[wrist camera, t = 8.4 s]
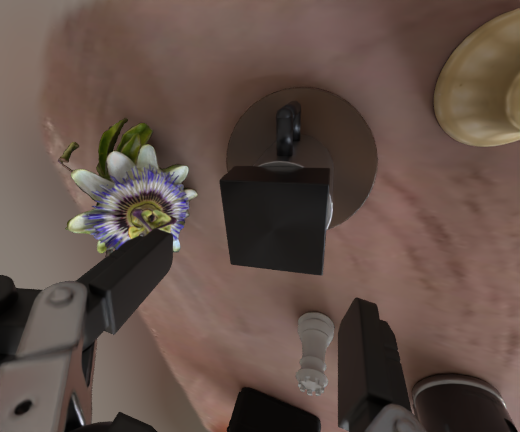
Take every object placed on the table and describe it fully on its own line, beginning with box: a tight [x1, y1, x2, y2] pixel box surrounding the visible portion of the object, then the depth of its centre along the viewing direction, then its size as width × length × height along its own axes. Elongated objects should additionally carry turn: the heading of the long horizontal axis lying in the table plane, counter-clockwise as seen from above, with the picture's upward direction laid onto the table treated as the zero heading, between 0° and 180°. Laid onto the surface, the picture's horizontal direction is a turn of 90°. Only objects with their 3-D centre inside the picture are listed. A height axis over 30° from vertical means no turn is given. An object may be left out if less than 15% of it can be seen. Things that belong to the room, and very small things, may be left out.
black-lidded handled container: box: [220, 101, 333, 275], centre depth 18 cm, size 9×6×10 cm
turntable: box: [227, 87, 378, 230], centre depth 23 cm, size 13×13×1 cm
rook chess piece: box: [296, 312, 335, 396], centre depth 29 cm, size 4×4×8 cm
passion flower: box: [58, 118, 197, 257], centre depth 25 cm, size 11×11×12 cm
